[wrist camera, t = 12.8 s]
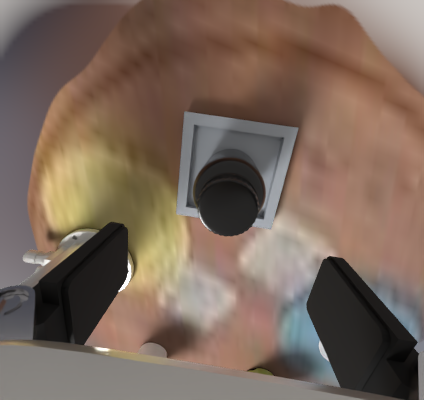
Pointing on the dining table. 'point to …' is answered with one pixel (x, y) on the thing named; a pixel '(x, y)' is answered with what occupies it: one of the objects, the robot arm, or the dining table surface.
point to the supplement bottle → (229, 192)
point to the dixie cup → (153, 350)
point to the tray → (242, 140)
